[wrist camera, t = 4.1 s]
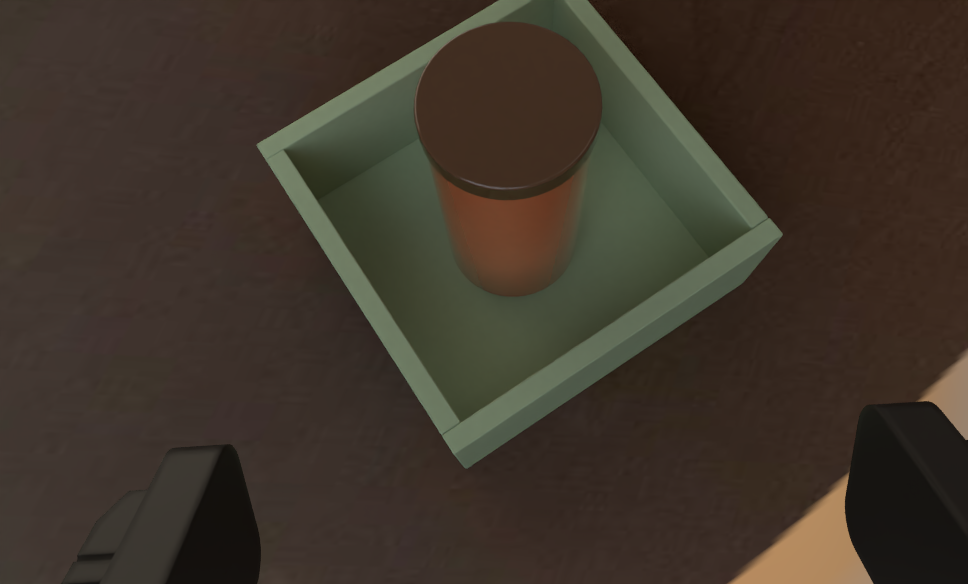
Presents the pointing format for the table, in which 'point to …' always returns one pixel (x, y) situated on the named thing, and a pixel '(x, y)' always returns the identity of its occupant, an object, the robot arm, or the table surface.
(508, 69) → the spice jar
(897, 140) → the table surface
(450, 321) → the crate
